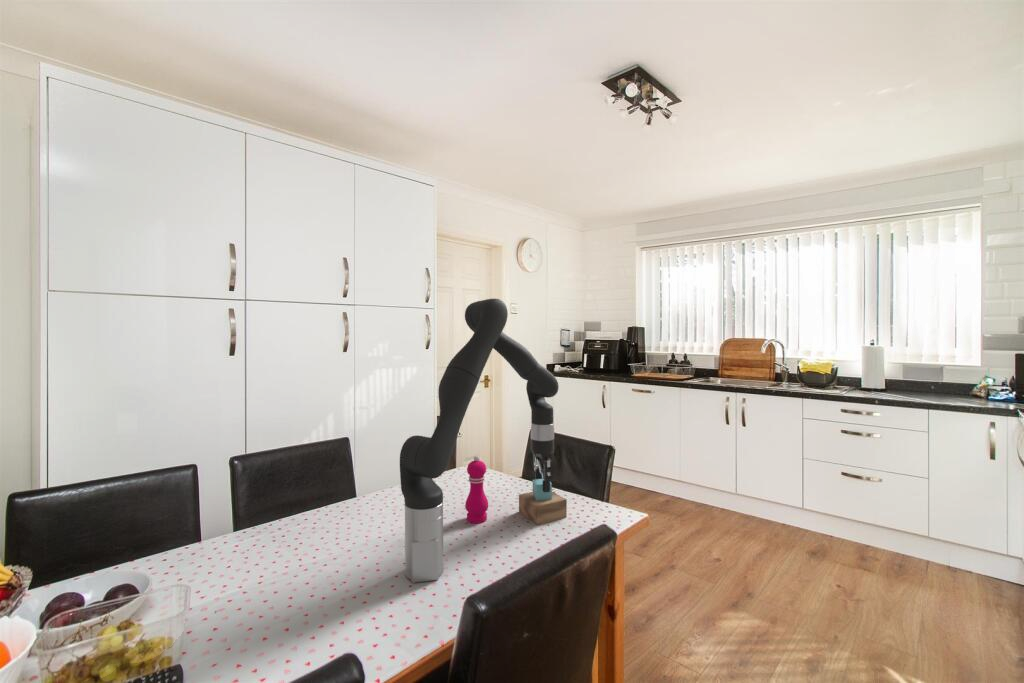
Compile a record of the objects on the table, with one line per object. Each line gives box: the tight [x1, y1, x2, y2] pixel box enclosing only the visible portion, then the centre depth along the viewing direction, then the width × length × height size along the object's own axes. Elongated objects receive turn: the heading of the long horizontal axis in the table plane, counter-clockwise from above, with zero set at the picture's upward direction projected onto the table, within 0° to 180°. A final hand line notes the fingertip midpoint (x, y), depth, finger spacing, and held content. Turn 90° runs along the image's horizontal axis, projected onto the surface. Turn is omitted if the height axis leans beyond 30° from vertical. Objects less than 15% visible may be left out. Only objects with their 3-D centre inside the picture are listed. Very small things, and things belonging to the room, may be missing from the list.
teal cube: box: [532, 478, 553, 500], centre depth 148 cm, size 5×5×5 cm
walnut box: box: [518, 491, 568, 525], centre depth 148 cm, size 11×11×6 cm
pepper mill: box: [464, 455, 489, 524], centre depth 144 cm, size 7×7×20 cm
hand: (542, 487), depth 148 cm, fingers open, 8 cm apart
